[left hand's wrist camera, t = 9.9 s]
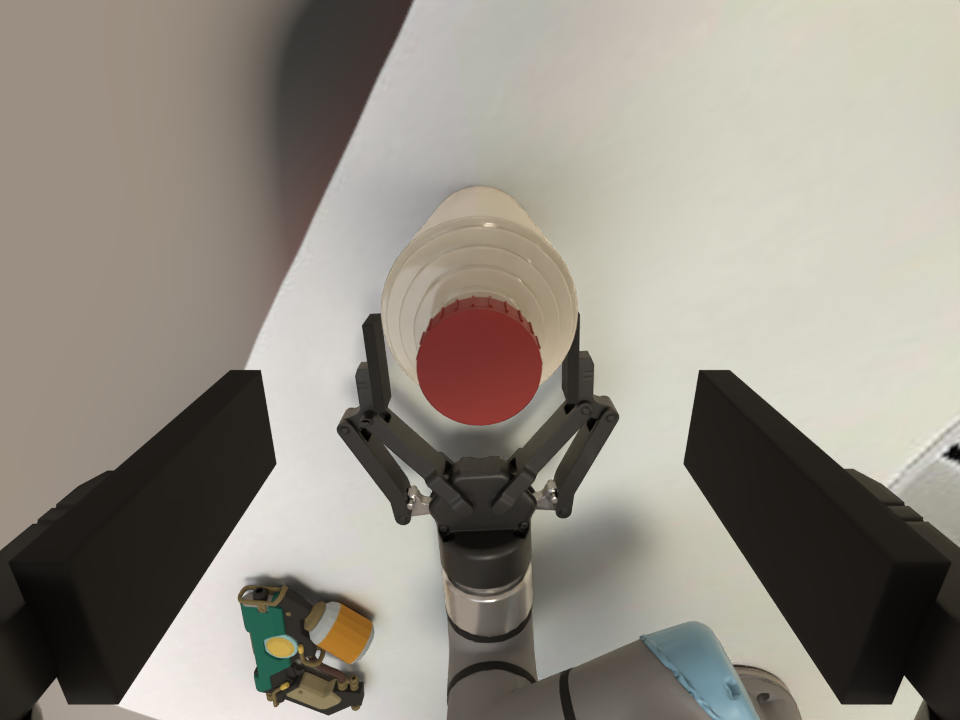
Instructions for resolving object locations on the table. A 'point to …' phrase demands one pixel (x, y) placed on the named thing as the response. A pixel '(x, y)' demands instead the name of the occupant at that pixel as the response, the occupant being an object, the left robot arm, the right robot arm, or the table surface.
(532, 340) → the cap
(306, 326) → the table surface
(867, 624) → the left robot arm
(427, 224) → the bottle
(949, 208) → the table surface
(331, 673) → the spray gun
